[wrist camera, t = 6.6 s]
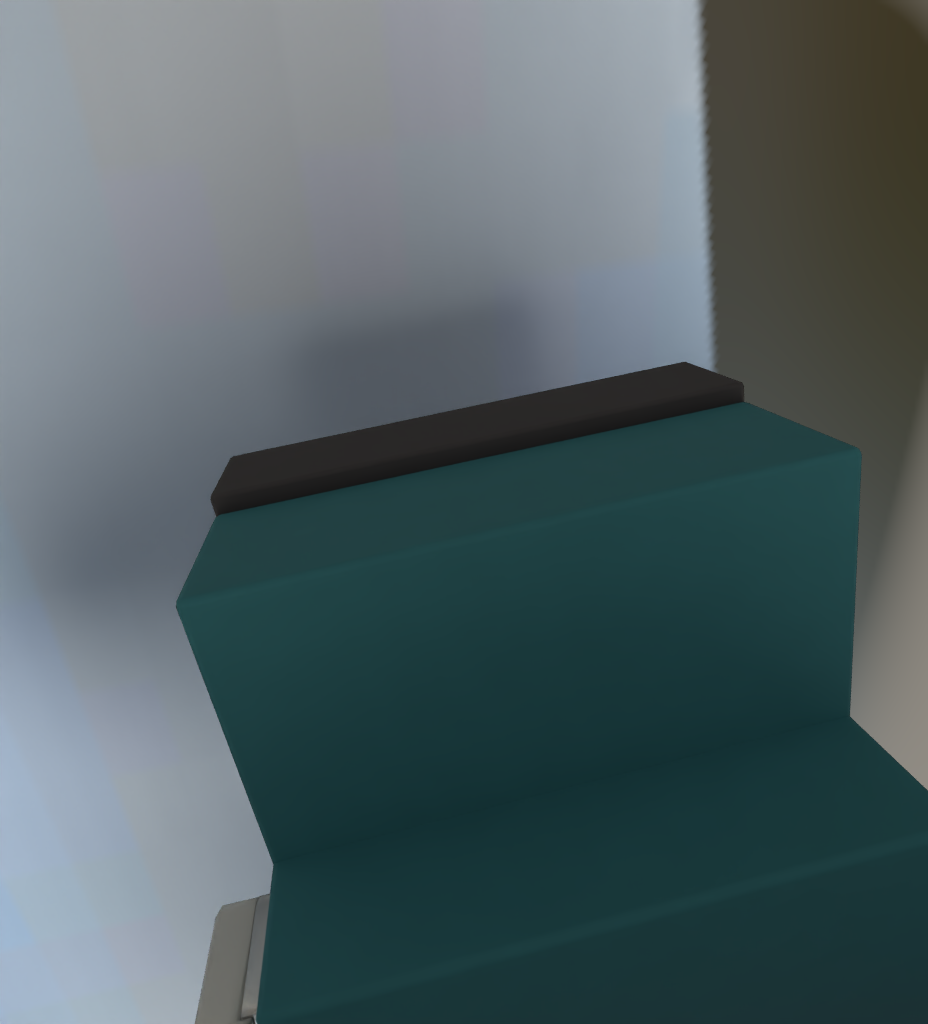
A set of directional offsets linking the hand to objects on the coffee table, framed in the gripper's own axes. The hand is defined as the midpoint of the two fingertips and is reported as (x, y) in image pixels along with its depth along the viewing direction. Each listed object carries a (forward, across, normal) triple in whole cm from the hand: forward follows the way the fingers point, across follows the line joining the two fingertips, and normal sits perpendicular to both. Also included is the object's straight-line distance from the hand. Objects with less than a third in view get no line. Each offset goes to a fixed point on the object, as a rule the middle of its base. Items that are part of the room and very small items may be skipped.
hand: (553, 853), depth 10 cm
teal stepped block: (+2, 0, 0) cm, 2 cm away
